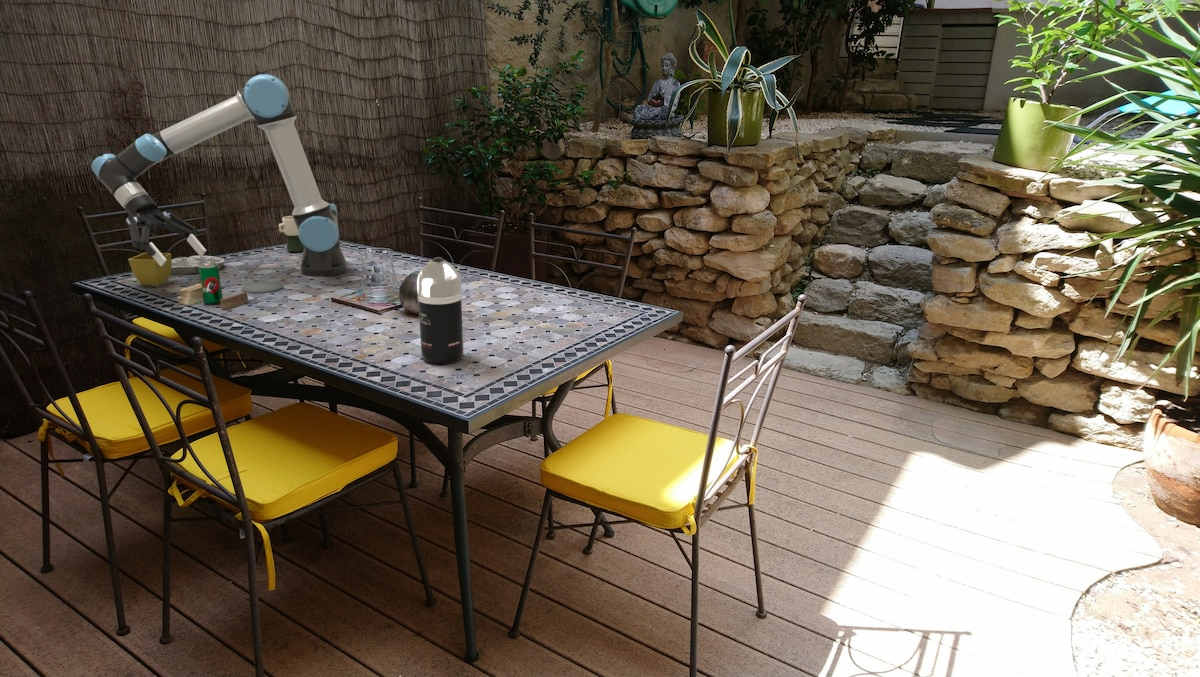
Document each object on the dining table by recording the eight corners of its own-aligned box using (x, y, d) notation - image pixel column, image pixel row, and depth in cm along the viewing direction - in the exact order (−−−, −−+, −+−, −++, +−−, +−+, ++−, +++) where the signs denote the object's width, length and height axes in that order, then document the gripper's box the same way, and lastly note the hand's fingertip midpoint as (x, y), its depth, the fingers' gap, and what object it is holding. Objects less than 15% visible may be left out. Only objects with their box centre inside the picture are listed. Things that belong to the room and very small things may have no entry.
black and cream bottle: (438, 369, 171) (432, 264, 163) (412, 358, 177) (406, 256, 169) (473, 358, 178) (469, 257, 170) (447, 347, 184) (442, 250, 176)
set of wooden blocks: (177, 303, 213) (175, 290, 212) (205, 294, 222) (203, 282, 221) (222, 310, 208) (220, 297, 207) (249, 301, 217) (247, 288, 216)
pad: (287, 282, 237) (287, 280, 237) (278, 292, 226) (278, 291, 226) (247, 283, 235) (247, 281, 235) (237, 293, 224) (236, 291, 224)
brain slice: (219, 261, 263) (218, 253, 262) (228, 271, 250) (227, 263, 249) (156, 268, 252) (155, 259, 251) (163, 279, 239) (161, 270, 238)
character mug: (305, 247, 285) (301, 214, 281) (314, 251, 280) (310, 217, 276) (277, 251, 278) (273, 217, 273) (286, 255, 273) (282, 220, 269)
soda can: (227, 301, 217) (221, 261, 213) (213, 306, 212) (207, 265, 208) (213, 299, 218) (207, 259, 214) (200, 303, 214) (193, 263, 210)
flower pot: (160, 288, 228) (155, 259, 225) (132, 287, 228) (127, 258, 225) (176, 280, 236) (171, 253, 233) (149, 279, 237) (144, 252, 234)
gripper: (168, 204, 226) (213, 257, 226) (90, 217, 203) (140, 275, 204) (178, 188, 222) (224, 242, 222) (100, 199, 200) (151, 259, 200)
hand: (184, 258), depth 213 cm, fingers open, 13 cm apart
